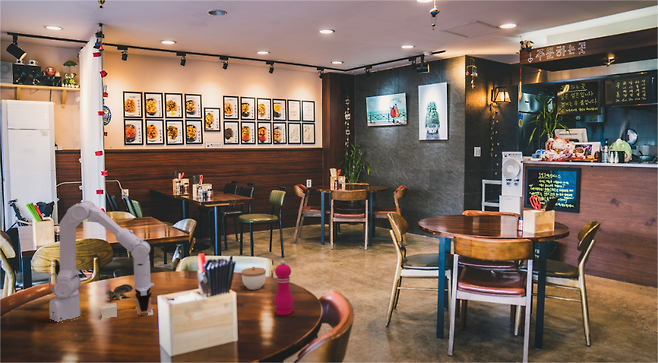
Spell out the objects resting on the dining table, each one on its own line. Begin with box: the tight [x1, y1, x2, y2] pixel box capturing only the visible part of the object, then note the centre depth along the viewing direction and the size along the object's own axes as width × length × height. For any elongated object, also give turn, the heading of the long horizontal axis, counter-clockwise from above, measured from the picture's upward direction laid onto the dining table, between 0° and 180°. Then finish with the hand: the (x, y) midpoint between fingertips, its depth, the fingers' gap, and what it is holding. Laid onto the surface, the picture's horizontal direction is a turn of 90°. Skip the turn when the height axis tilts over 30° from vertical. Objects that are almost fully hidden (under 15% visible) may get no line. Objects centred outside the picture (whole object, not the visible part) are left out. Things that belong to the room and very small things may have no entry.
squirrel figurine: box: [105, 283, 134, 302], centre depth 191 cm, size 8×7×9 cm
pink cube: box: [135, 297, 152, 314], centre depth 175 cm, size 5×5×5 cm
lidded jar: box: [241, 266, 267, 291], centre depth 204 cm, size 11×11×9 cm
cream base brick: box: [100, 302, 118, 319], centre depth 170 cm, size 5×5×4 cm
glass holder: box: [48, 264, 60, 298], centre depth 188 cm, size 9×14×15 cm, turn 174°
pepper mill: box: [273, 260, 294, 316], centre depth 172 cm, size 7×7×20 cm
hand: (143, 308), depth 175 cm, fingers closed on pink cube, 5 cm apart
